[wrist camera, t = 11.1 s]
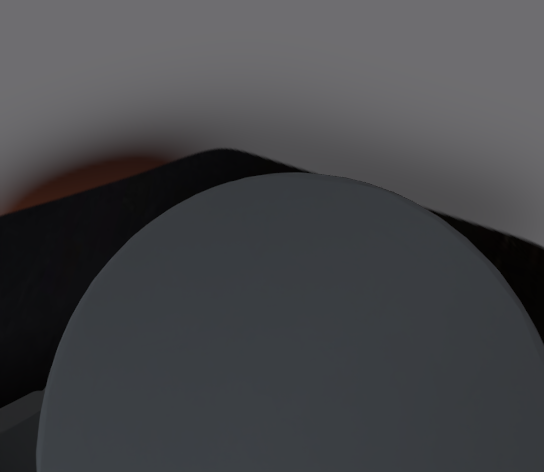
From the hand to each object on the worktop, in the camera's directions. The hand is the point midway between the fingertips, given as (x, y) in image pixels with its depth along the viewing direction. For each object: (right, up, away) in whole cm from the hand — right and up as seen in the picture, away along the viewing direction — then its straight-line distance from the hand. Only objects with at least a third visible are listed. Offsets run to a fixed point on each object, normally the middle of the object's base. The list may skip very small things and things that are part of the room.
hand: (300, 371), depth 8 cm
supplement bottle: (+1, -4, +7) cm, 8 cm away
